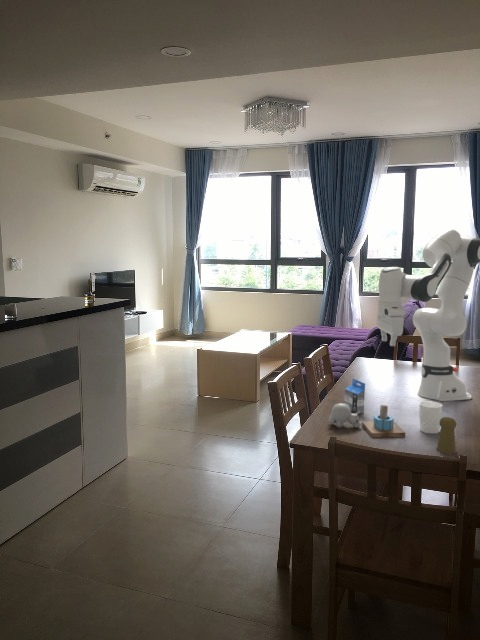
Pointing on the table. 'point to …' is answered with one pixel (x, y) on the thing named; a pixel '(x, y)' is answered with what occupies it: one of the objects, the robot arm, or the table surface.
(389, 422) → the ring
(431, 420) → the white cup
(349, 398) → the blue printed box
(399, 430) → the post block
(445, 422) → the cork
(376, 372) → the table surface
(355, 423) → the round bodied animal figurine
